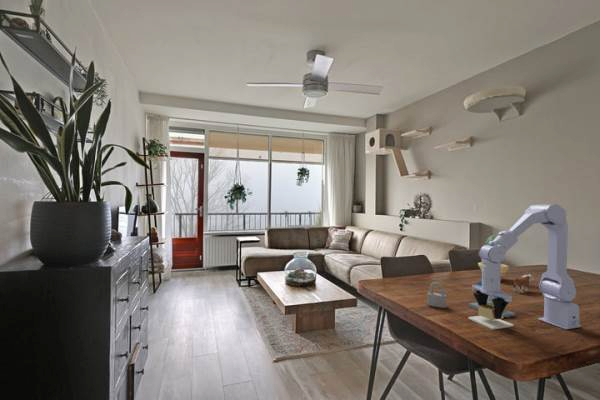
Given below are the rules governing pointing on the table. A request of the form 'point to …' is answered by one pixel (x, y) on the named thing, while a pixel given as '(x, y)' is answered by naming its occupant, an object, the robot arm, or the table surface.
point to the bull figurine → (522, 282)
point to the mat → (491, 322)
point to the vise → (489, 301)
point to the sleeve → (487, 311)
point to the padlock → (436, 297)
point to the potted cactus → (503, 267)
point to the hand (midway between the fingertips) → (490, 315)
